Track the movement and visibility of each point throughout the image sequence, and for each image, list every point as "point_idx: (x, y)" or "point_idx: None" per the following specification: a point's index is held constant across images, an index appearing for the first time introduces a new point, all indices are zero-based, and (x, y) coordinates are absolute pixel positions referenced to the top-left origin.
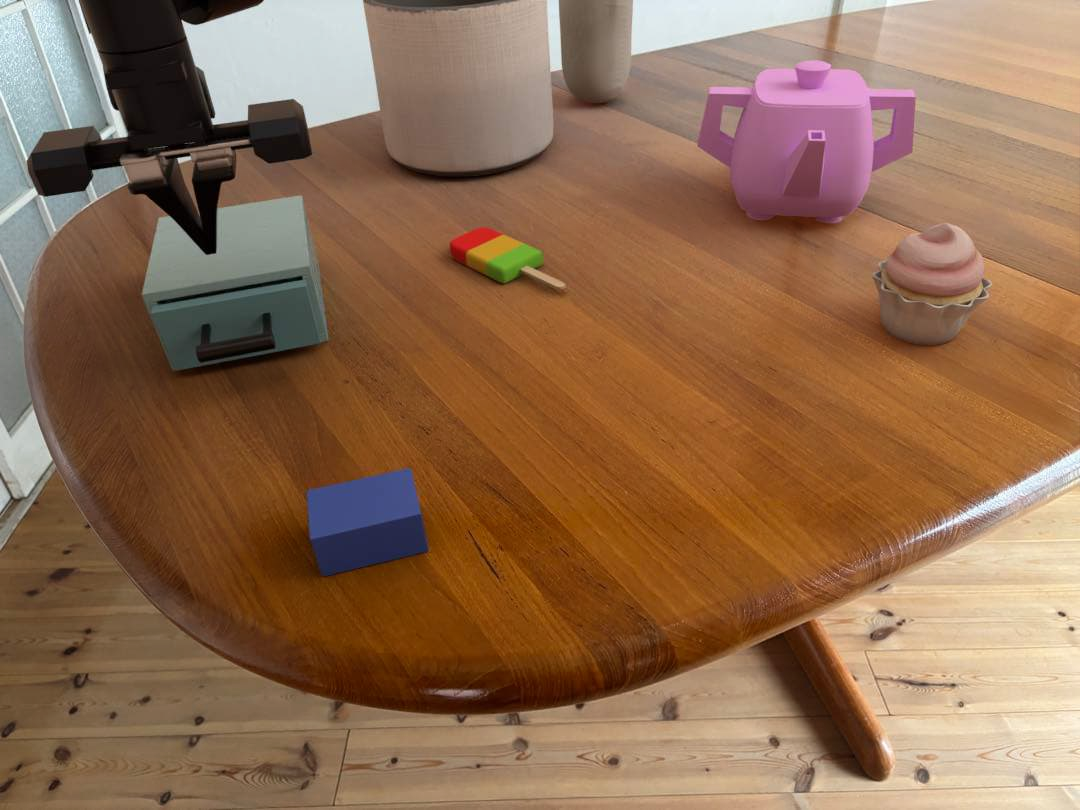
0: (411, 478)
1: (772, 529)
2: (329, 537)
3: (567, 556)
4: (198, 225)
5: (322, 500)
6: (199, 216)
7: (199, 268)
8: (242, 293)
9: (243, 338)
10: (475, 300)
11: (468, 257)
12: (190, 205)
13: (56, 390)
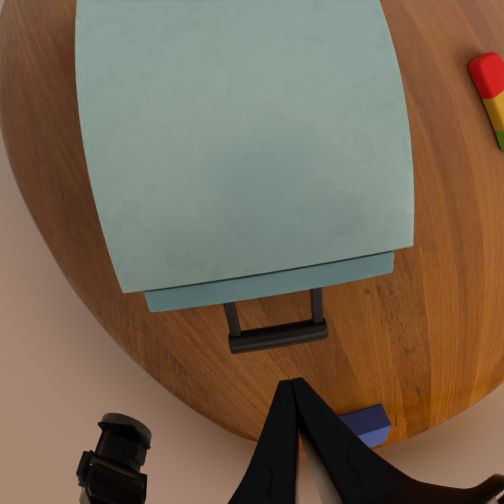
0: (388, 430)
1: (480, 390)
2: None
3: (423, 414)
4: (298, 458)
5: None
6: (296, 435)
7: (200, 212)
8: (294, 282)
9: (292, 341)
10: (482, 169)
11: (491, 102)
12: (297, 489)
13: (60, 255)
